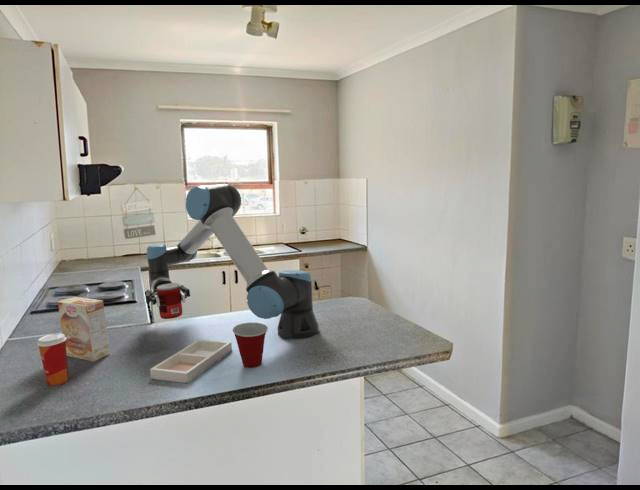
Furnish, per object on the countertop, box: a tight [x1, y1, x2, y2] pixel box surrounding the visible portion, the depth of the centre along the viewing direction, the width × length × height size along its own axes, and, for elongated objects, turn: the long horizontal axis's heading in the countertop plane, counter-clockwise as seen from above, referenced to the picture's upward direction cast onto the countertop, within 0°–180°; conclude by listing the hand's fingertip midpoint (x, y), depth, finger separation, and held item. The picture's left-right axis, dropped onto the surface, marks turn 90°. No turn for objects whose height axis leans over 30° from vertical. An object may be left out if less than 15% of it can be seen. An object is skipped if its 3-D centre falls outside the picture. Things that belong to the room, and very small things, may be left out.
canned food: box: [157, 282, 183, 320], centre depth 165 cm, size 8×8×11 cm
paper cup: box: [36, 333, 69, 387], centre depth 140 cm, size 8×8×14 cm
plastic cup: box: [232, 322, 269, 369], centre depth 145 cm, size 11×11×12 cm
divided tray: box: [149, 338, 233, 384], centre depth 149 cm, size 25×13×3 cm, turn 160°
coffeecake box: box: [57, 296, 111, 362], centre depth 160 cm, size 15×7×20 cm, turn 62°
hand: (171, 300), depth 161 cm, fingers closed on canned food, 8 cm apart
